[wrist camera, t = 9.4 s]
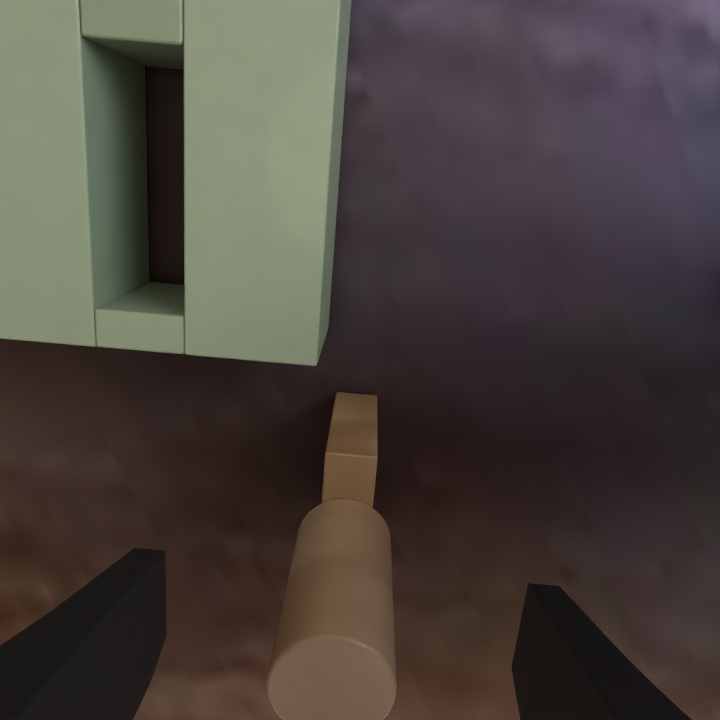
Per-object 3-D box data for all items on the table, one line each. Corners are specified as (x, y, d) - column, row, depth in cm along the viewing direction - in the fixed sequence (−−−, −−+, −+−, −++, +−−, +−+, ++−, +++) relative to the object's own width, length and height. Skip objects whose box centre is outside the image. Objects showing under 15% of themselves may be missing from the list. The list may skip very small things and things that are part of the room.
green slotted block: (373, -313, 13) (372, -485, 9) (328, 328, 17) (316, 367, 14) (-4, -346, 13) (-140, -531, 9) (44, 303, 17) (-38, 335, 14)
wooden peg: (394, 396, 17) (410, 586, 9) (380, 527, 19) (384, 794, 11) (318, 389, 17) (271, 574, 9) (310, 521, 19) (261, 783, 11)
